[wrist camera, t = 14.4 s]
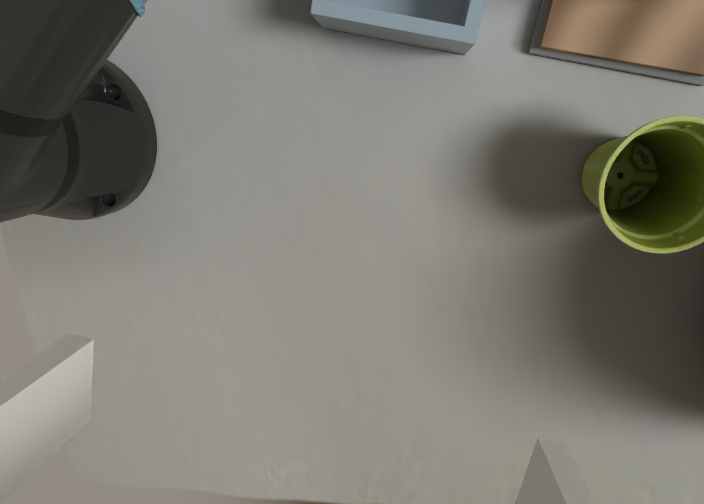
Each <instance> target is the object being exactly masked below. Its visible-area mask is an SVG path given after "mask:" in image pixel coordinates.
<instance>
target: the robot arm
mask: <svg viewBox="0 0 704 504" xmlns="http://www.w3.org/2000/svg"><path fill="white" fill-rule="evenodd" d="M146 2H147V0H0V222H4V221H8V220H12V219H15V218H19V217H23V216H26V215H30V214H38V215H45V216H51V217H57V218H63V219H70V220H84V219H93V218H97V217H100V216H104V215H107V214H110V213H113V212H116V211H118V210H120V209H122V208H124V207H126V206H127V205H129V204H130V203H131V202H133V201H134V200H135V199H136V198H137V197H138V196H139V195H140V194H141V192H142V191H143V190H144V188H145V187H146V185H147V183H148V182H149V180H150V177H151V175H152V172H153V169H154V166H155V161H156V154H157V137H156V130H155V125H154V121H153V117H152V114H151V112H150V109H149V107H148V104H147V102H146V100H145V99H144V97H143V95H142V93H141V92H140V90H139V89H138V88H137V86H136V85H135V84H134V82H133V81H132V80H131V79H130V78H129V77H128V76H127V75H126V74H125V73H124V72H123V71H122V70H121V69H120V68H118V67H117V66H116V65H114V64H113V63H111V62H110V61H108V60H107V59H108V57H109V56H110V55H111V53H112V52H113V50H114V49H115V47H116V46H117V45H118V43H119V42H120V40H121V39H122V38H123V36H124V35H125V33H126V32H127V30H128V29H129V28H130V26H131V25H132V23H133V22H134V20H135V19H136V18H137V16H139V17H142V15H143V14H144V12H145V7H144V5H145V3H146ZM93 345H94V339H90V338H85V337H81V336H76V335H71V334H68V335H66V336H65V337H63V338H62V339H60V340H59V341H57V342H56V343H54V344H53V345H51V346H49V347H48V348H46V349H45V350H43V351H42V352H40V353H39V354H37V355H36V356H34V357H33V358H31V359H29V360H28V361H26V362H25V363H23V364H22V365H20V366H19V367H17V368H15V369H14V370H13V371H11V372H9V373H8V374H6V375H5V376H3V377H1V378H0V504H3V503H4V502H5V501H6V500H7V499H8V498H9V497H10V496H11V495H12V494H13V493H14V492H15V491H16V490H17V489H18V488H19V487H20V486H21V485H23V484H24V483H25V482H26V481H27V480H28V479H29V478H30V477H31V476H32V475H33V474H34V473H35V472H36V471H37V470H38V469H39V468H40V467H41V466H42V465H43V464H44V463H45V462H46V461H47V460H48V459H49V458H50V457H52V456H53V455H54V453H56V452H57V451H58V450H59V449H60V448H61V447H62V446H63V445H64V444H65V443H66V442H67V441H68V440H69V439H70V438H71V437H72V436H73V435H74V434H75V433H76V432H77V431H78V430H80V429H81V428H82V427H83V426H84V425H85V424H86V423H87V422H88V421H89V420H90V416H91V392H92V369H93ZM515 504H595V502H594V500H593V498H592V496H591V494H590V492H589V490H588V488H587V486H586V484H585V482H584V480H583V478H582V476H581V474H580V472H579V470H578V468H577V466H576V465H575V463H574V461H573V459H572V457H571V455H570V453H569V451H568V449H567V447H566V445H565V444H563V443H559V442H554V441H550V440H545V439H541V438H538V439H537V442H536V445H535V448H534V451H533V454H532V456H531V459H530V462H529V465H528V468H527V471H526V474H525V477H524V480H523V482H522V485H521V488H520V491H519V494H518V497H517V500H516V503H515Z"/></svg>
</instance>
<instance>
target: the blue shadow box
mask: <svg viewBox="0 0 704 504" xmlns="http://www.w3.org/2000/svg"><path fill="white" fill-rule="evenodd" d="M484 5H485V0H312V6H311V14H312V16H313V17H314V18H315V19H316V20H317V21H318V23H319V24H320V25H321V26H322V27H323V28H325V29H330V30H335V31H340V32H346V33H351V34H356V35H362V36H367V37H372V38H377V39H383V40H388V41H393V42H399V43H404V44H409V45H414V46H420V47H425V48H430V49H435V50H441V51H446V52H451V53H457V54H462V55H465V54H466V53H467V52H468V51H469V50H470V49H471V48H472V47H473V46H474V45H475V42H476V38H477V34H478V30H479V25H480V21H481V17H482V13H483V9H484Z"/></svg>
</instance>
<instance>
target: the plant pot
mask: <svg viewBox="0 0 704 504" xmlns="http://www.w3.org/2000/svg"><path fill="white" fill-rule="evenodd" d="M638 151H641V152H642V153H643V154H644V155H645V156H646V157H647V159H648V164H645V163H644V161H643V160H642V158H641V157H640V156H639V154H637V152H638ZM618 173H622V174H623V177H622V178H621V179H619V178H618V177H617V174H618ZM581 183H582V188H583V191H584V193H585V195H586V196H587V198H588V199H589V200H590V201H591V202H592V203H593V204H594V205H595V206H596V207H597V208H598V209H599V210H600V213H601V216H602V219H603V221H604V222H605V224H606V226H607V227H608V229H609V230H610V231H611V232H612V233H613V234H614V235H615V236H616V237H617V238H618V239H619V240H621V241H622V242H624V243H625V244H627V245H629V246H631V247H633V248H635V249H638V250H641V251H645V252H650V253H674V252H679V251H683V250H686V249H689V248H691V247H694V246H696V245H698V244H700V243H702V242H704V119H701V118H697V117H692V116H673V117H667V118H663V119H659V120H656V121H653V122H650V123H648V124H646V125H644V126H642V127H640V128H638V129H637V130H635V131H634V132H632V133H631V134H630V135H629V136H626V137H621V138H617V139H614V140H611V141H608V142H606V143H604V144H602V145H600V146H599V147H597V148H596V149H595V150H594V151H593V152H592V153H591V154H590V156H589V157H588V158H587V160H586V162H585V164H584V168H583V172H582V179H581ZM639 190H641V191H640V194H639V195H638V196H637V197H636V198H635V199H633V200H631V201H627V200H626V199H627V198H628V197H630V196H632V195H634V194H635V193H636V192H638V191H639Z"/></svg>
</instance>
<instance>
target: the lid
mask: <svg viewBox="0 0 704 504" xmlns="http://www.w3.org/2000/svg"><path fill="white" fill-rule="evenodd" d="M538 48H540V49H546V50H552V51H557V52H563V53H569V54H575V55H580V56H586V57H592V58H598V59H603V60H609V61H615V62H621V63H626V64H632V65H638V66H643V67H649V68H655V69H661V70H666V71H672V72H678V73H684V74H689V75H695V76H704V0H550V2H549V6H548V10H547V14H546V17H545V21H544V25H543V29H542V33H541V36H540V40H539V44H538Z"/></svg>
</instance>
